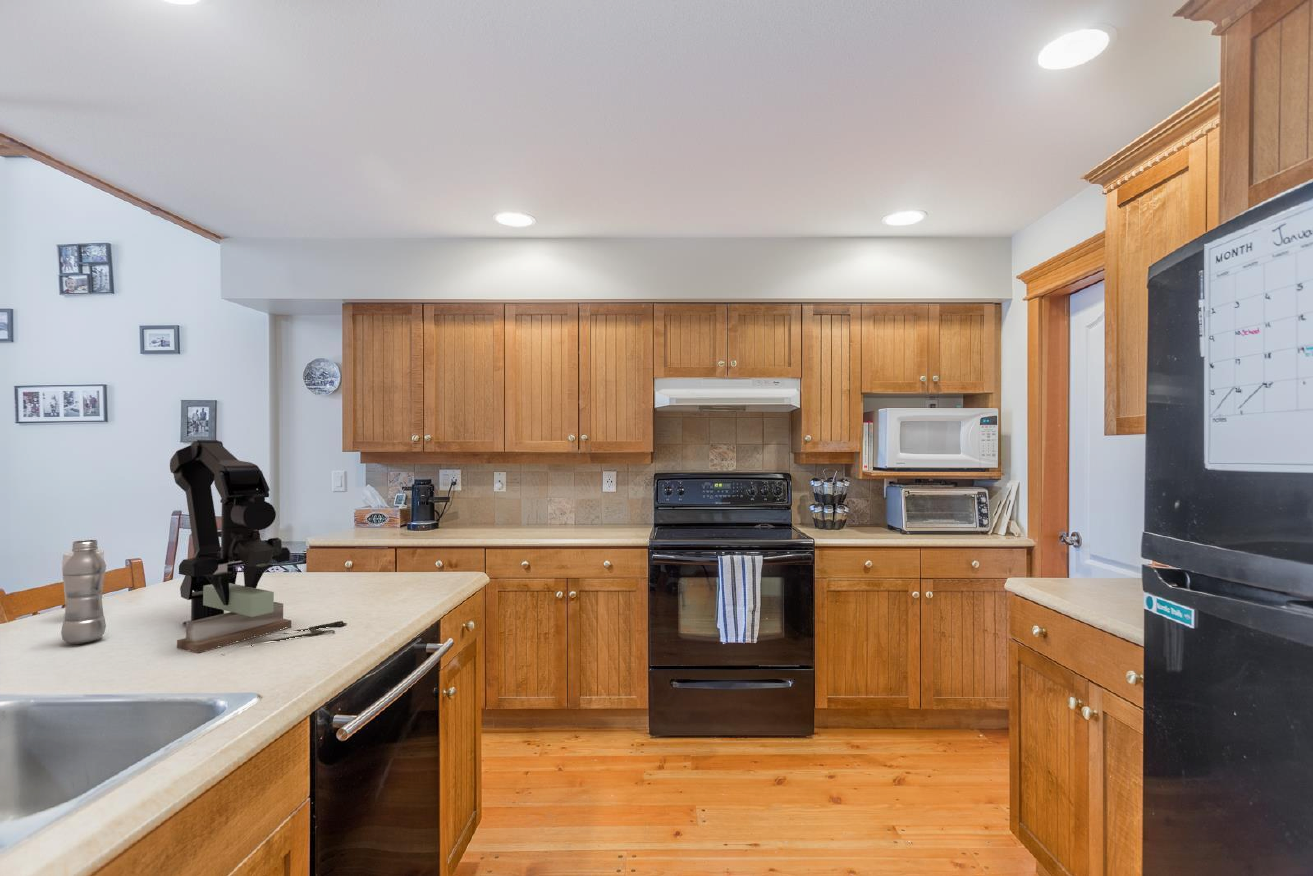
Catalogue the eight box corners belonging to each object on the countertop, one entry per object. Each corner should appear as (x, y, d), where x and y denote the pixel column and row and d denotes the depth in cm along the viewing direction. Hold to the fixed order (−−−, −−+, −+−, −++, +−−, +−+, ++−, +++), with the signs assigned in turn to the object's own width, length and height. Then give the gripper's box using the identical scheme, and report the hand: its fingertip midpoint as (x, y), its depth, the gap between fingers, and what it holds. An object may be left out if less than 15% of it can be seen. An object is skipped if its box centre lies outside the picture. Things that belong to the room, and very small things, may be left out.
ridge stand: (176, 647, 116) (177, 621, 116) (270, 623, 132) (270, 600, 132) (198, 653, 113) (198, 626, 113) (291, 627, 129) (291, 603, 129)
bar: (203, 605, 125) (203, 585, 125) (224, 600, 129) (224, 582, 129) (252, 616, 117) (252, 596, 117) (273, 611, 120) (273, 591, 120)
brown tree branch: (346, 626, 132) (346, 619, 132) (351, 638, 123) (351, 631, 123) (209, 645, 119) (209, 637, 119) (204, 661, 110) (205, 653, 110)
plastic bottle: (67, 650, 115) (68, 545, 115) (55, 643, 118) (57, 541, 118) (111, 640, 120) (112, 540, 120) (99, 635, 124) (100, 537, 124)
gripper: (212, 534, 111) (210, 619, 111) (307, 523, 128) (306, 596, 128) (177, 530, 116) (176, 612, 116) (274, 520, 133) (273, 591, 132)
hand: (237, 602), depth 123 cm, fingers closed on bar, 4 cm apart
